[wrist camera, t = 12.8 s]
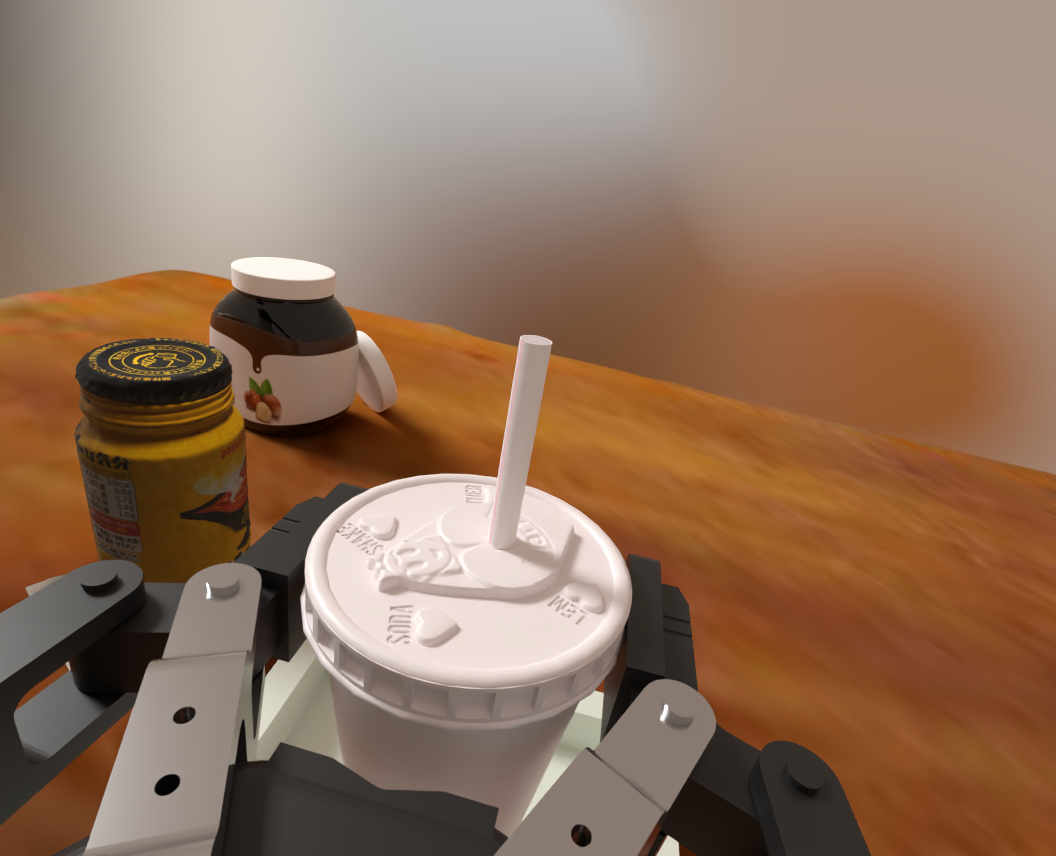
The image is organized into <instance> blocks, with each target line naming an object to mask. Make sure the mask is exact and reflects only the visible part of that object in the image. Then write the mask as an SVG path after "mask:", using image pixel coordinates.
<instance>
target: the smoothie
mask: <svg viewBox="0 0 1056 856" xmlns="http://www.w3.org/2000/svg"><path fill="white" fill-rule="evenodd" d="M551 346H552V341H550V340H549V339H546V338H544V337H540V336H534V335H524V336H521V337H520V342H519V348H518V354H517V360H516V366H515V373H514V379H513V385H512V391H511V397H510V404H509V410H508V416H507V422H506V428H505V435H504V441H503V447H502V453H501V459H500V466H499V472H498V478H495V477H488V476H480V475H471V474H433V475H421V476H415V477H410V478H405V479H400V480H395V481H392V482H389V483H386V484H383V485H380V486H377V487H374V488H371V489H369V490H367V491H365V492H363V493H361V494H359V495H357V496H355V497H353V498H352V499H350V500H349V501H347V502H346V503H344V504H343V505H341V506H340V507H339V508H338V509H336V510H335V511H334V512H333V513H332V514H331V515H330V516H329V517H328V518H327V519H326V520H325V521H324V522H323V523H322V524H321V526H320V527H319V528H318V530H317V531H316V533H315V535H314V536H313V538H312V540H311V543H310V545H309V547H308V551H307V555H306V559H305V584H304V587H303V590H302V593H301V597H300V601H301V612H302V622H303V632H304V634H305V636H306V637H307V639H308V641H309V643H310V645H311V647H312V649H313V651H314V653H315V655H316V657H317V659H318V660H319V662H320V664H321V666H322V667H323V668H324V669H325V670H326V671H328V674H329V681H330V689H331V693H332V697H333V703H334V710H335V716H336V722H337V729H338V735H339V741H340V748H341V754H342V761H343V765H344V766H346V767H347V768H349V769H350V770H352V771H354V772H355V773H357V774H358V775H360V776H361V777H363V778H364V779H366V780H367V781H369V782H370V783H372V784H373V785H375V786H377V787H378V788H381V789H386V790H415V791H444V792H447V793H451V794H454V795H457V796H461V797H464V798H467V799H471V800H474V801H477V802H481V803H484V804H487V805H490V806H494V807H497V808H499V811H498V815H497V819H496V824H495V828H496V829H497V830H499V831H500V832H502V833H503V834H505V835H506V836H507V837H510V836H511V834H512V833H513V832H514V831H515V830H516V828H517V827H518V826H519V825H520V824H521V822H522V820H523V818H524V815H525V813H526V811H527V809H528V807H529V805H530V803H531V801H532V799H533V797H534V795H535V793H536V790H537V788H538V786H539V784H540V782H541V780H542V778H543V776H544V774H545V772H546V770H547V767H548V765H549V763H550V761H551V759H552V757H553V755H554V753H555V751H556V749H557V747H558V745H559V742H560V740H561V738H562V736H563V734H564V732H565V730H566V728H567V726H568V724H569V722H570V721H571V719H572V717H573V715H574V712H575V710H576V708H577V706H578V703H579V702H580V701H581V700H583V699H585V698H586V697H588V696H590V695H591V694H592V693H593V692H594V691H595V689H596V688H597V687H598V686H599V685H600V683H601V682H602V681H603V680H604V679H605V677H606V676H607V675H608V674H609V673H610V671H611V670H612V669H613V668H614V667H615V664H616V661H617V658H618V655H619V653H620V650H621V647H622V644H623V641H624V634H625V624H626V621H627V619H628V616H629V613H630V608H631V603H632V585H631V579H630V575H629V571H628V568H627V566H626V563H625V561H624V559H623V557H622V555H621V553H620V552H619V550H618V549H617V547H616V546H615V544H614V543H613V542H612V540H611V539H610V538H609V537H608V536H607V535H606V534H605V532H604V531H603V530H602V529H601V528H600V527H599V526H598V525H597V524H596V523H594V522H593V521H592V520H591V519H589V518H588V517H587V516H586V515H584V514H583V513H582V512H581V511H579V510H577V509H576V508H574V507H572V506H571V505H569V504H567V503H566V502H564V501H562V500H561V499H559V498H556V497H554V496H552V495H550V494H548V493H545V492H543V491H541V490H538V489H535V488H532V487H529V486H526V481H527V475H528V470H529V465H530V459H531V454H532V448H533V443H534V438H535V432H536V427H537V422H538V416H539V411H540V405H541V400H542V395H543V389H544V384H545V379H546V373H547V368H548V362H549V357H550V352H551Z"/></svg>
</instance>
